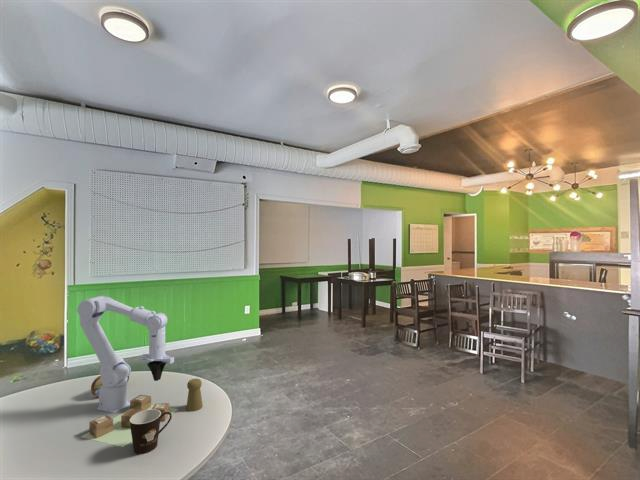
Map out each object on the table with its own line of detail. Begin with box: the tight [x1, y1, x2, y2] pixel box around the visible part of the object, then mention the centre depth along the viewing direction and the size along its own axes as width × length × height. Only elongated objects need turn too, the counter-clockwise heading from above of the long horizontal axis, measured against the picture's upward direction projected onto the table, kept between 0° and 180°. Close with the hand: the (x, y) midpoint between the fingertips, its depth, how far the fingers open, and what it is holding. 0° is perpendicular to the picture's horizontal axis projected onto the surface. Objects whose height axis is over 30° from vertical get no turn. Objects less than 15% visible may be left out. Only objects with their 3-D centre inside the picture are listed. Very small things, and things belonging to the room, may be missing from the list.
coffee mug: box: [130, 409, 173, 455], centre depth 101 cm, size 12×9×10 cm
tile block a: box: [88, 414, 113, 438], centre depth 109 cm, size 5×5×4 cm
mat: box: [80, 403, 179, 448], centre depth 115 cm, size 18×24×1 cm
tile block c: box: [129, 394, 152, 410], centre depth 124 cm, size 5×5×4 cm
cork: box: [185, 378, 204, 413], centre depth 125 cm, size 6×6×11 cm
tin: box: [90, 375, 130, 398], centre depth 139 cm, size 15×3×8 cm, turn 155°
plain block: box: [121, 408, 144, 428], centre depth 114 cm, size 5×5×4 cm
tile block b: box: [152, 402, 170, 422], centre depth 118 cm, size 5×5×4 cm
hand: (157, 379), depth 127 cm, fingers closed
